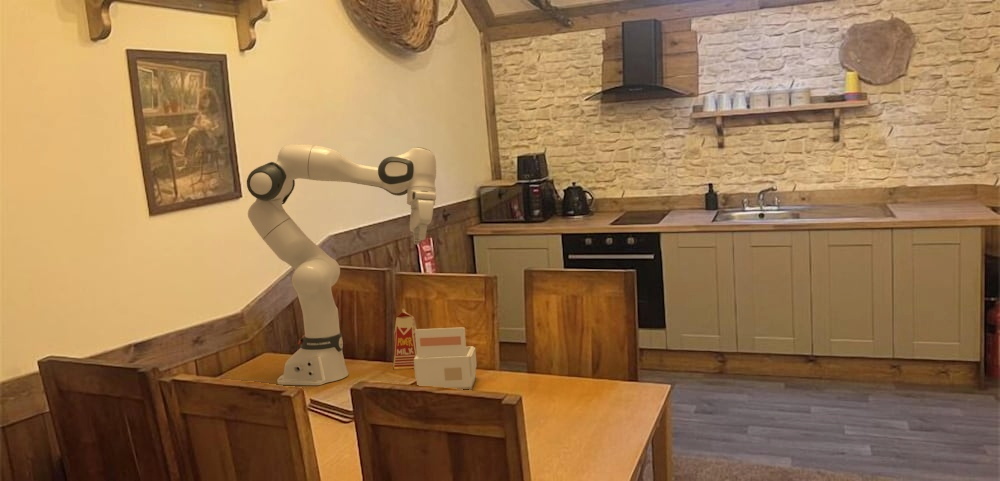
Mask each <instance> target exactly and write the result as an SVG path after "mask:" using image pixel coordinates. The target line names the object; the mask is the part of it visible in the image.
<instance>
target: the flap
mask: <svg viewBox="0 0 1000 481" xmlns="http://www.w3.org/2000/svg"><path fill="white" fill-rule="evenodd" d="M415 337H416V351H417V357H425V356H448V355H466V347H467V344H466V343H467V341H466V328H465V327H463V326H461V327H460V326H459V327H445V328H444V327H443V328H442V327H440V328H438V327H437V328H418V329H416V330H415Z"/></svg>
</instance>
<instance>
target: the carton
mask: <svg viewBox="0 0 1000 481" xmlns="http://www.w3.org/2000/svg"><path fill="white" fill-rule="evenodd" d="M477 364H478V363H477V353H476V347H474V346H472V345H471V346H466V355H448V356H425V357H417V355H416V357H415V358H414V369H413V370H414V377H415V378H414V379H415V380H416V386H417V385H419V386H433V387H444V388H457V389H469V390H468V391H472V389H473V386H474V384H475V382H476V379H477V375H476V374H477V372H476V370H477V367H478V366H477Z"/></svg>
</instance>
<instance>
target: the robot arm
mask: <svg viewBox="0 0 1000 481" xmlns="http://www.w3.org/2000/svg"><path fill="white" fill-rule="evenodd" d="M436 177H437V161H436V156H435V154H434V153H433V152H432V151H431V150H430V149H427V148H424V147H418V146H417V147H411V149H409V150H408V151H406V152H404V153H402V154H399V155H398V154H397V155H394V156H393V155H392V156H388V157H386V158H384V159H383V160H382V161H381V162H380V163H379V165H378V167H377V166H372V165H371V166H370V165H363V164H360V163H356V162H354V161H352V160H350V159H349V158H347V157H346V156H344V155H343V154H342V153H340V152H339V151H338V150H336V149H333V148H330V147H327V146H322V145H316V144H306V143H305V144H304V143H303V144H302V143H297V144H296V143H294V144H286V145H284V146H282V147H281V149H280V150H279V152H278V155H277V158H276V161H275V162H274V161H270V162H267V163H265V164H263V165H260V166H258V167H256V168H254V169H253V170H251V172H250V173H249V174H248V176H247V178H246V188H247V191H248V192H249V193H250V194H251V196H253V197H254V198H255V199H256V200H255V202H253V203H252V204H251V205H250V206H249V208H248V211H247V217H248V219H249V222H250V223H251V225H252V227H253V228H254V230H255V231H256V233H257V234H258V235H259V237H260V238H261V239H262V240H263V241H264V243H265V244H266V245H267V246H268V247H269V248H270V249H271V251H273V253H274V254H275V255H276V256H277V257H278V259H279V260H281V261H282V262H284V263H286V264H287V265H289V266H290V267H291V268H292V269H294V271H293V274H292V277H291V284H292V287H293V289H294V290H295V292H296V294H297V297H298V300H299V301H298V302H299V304H300V308H301V311H302V318H303V328H304V334H303V335H301V336H302V337H301V338H299V340H298V341H297V342H298V345H299V346H300V348H299V349H297V351H295V352H294V353H293V354H292V355H291V356H290V357H288V359H287V360H286V361H285V364H284V367H283V374H281V375H280V376H279V377H278V378H277V379H276V380H277V385H282V386H288V385H290V386H321V385H324V384H327V383H331V382H336V381H339V380H342V379H344V378H346V377H348V376H349V373H350V372H349V370H348V368H347V364H346V363H345V362H346V361H345V358H344V354H343V353H344V352H343V346H344V345H343V344H344V342H343V336H342V332H341V329H340V320H339V309H338V307H337V306H336V302H335V299H334V296H333V295H334V294H333V292H332V287H333V286H335V284H337V282H338V280H339V278H340V274H341V268H340V267H341V266H340V265H339V263H338V261H336V260H335V259H334V258H333V257H332V256H331V257H330V256H329V255H328V254H327V253H326V252H325V251H324V250H323V249H322V248H321V247H319V246H318V245H317V244H316V243H315V242H313V241H312V240H311V238H309V237H308V236H307V235H306V234H305V233H304V231H303V230H302V229H301V228H300V227H299V225H297V223H296V222H295V221H294V219H292V217H291V216H290V215H289V214H288V212H286V210H285V209H284V206H283V205H284V204H285V203H286V202H287V201H288V199H289V197H290V196H291V195H292V193H293V191H294V189H295V186H296V181H295V180H297V179H301V180H302V179H304V180H309V181H321V182H339V183H352V184H356V185H364V186H370V187H376V188H379V189H382V190H384V191H386V192H387V193H389V194H391V195H393V196H399V197H400V196H404V195H406V204H407V205H409V206H410V218H409V232H412V234H413V235H412V236H413V244H414V245H420V244H421V241H425V240H426V239H427V238H426V237H427V230H428V226H429V225H430V224H431V223H432V220H433V213H434V206H435V205H436V200H437V192H436V186H435V181H436V179H437V178H436Z"/></svg>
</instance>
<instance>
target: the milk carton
mask: <svg viewBox="0 0 1000 481" xmlns="http://www.w3.org/2000/svg"><path fill="white" fill-rule="evenodd" d="M394 324H395V325H394V326H395V327H394V331H393V332H394V333H393V334H394V335H393V339H394V340H393V341H394V342H393V348H394V350H393V351H394V352H393V362H392V368H393V367H414V358H415V357H416V355H417V351H416V337H415V330H416V329H417V323H416V320H415V317H414V316H413V315H411V314H409V313H408V312H406V309H405V308H401V313H400V314H398V315H397V316H396V318H395V323H394Z"/></svg>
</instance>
